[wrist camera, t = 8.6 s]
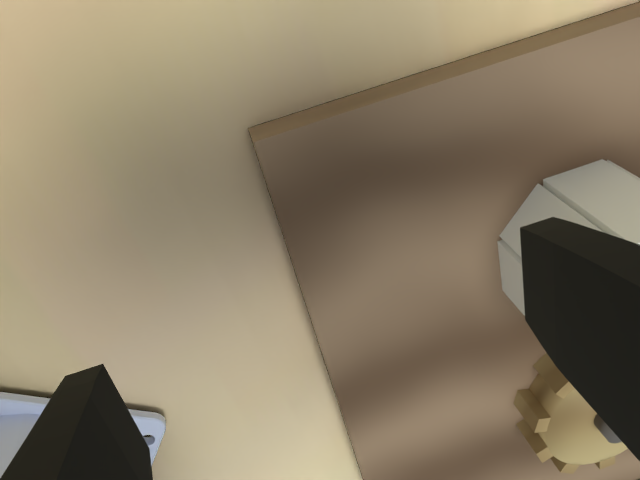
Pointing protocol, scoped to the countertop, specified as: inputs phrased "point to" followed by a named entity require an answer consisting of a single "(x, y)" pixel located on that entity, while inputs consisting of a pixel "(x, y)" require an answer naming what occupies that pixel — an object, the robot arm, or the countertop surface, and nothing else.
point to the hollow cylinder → (573, 213)
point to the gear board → (452, 251)
